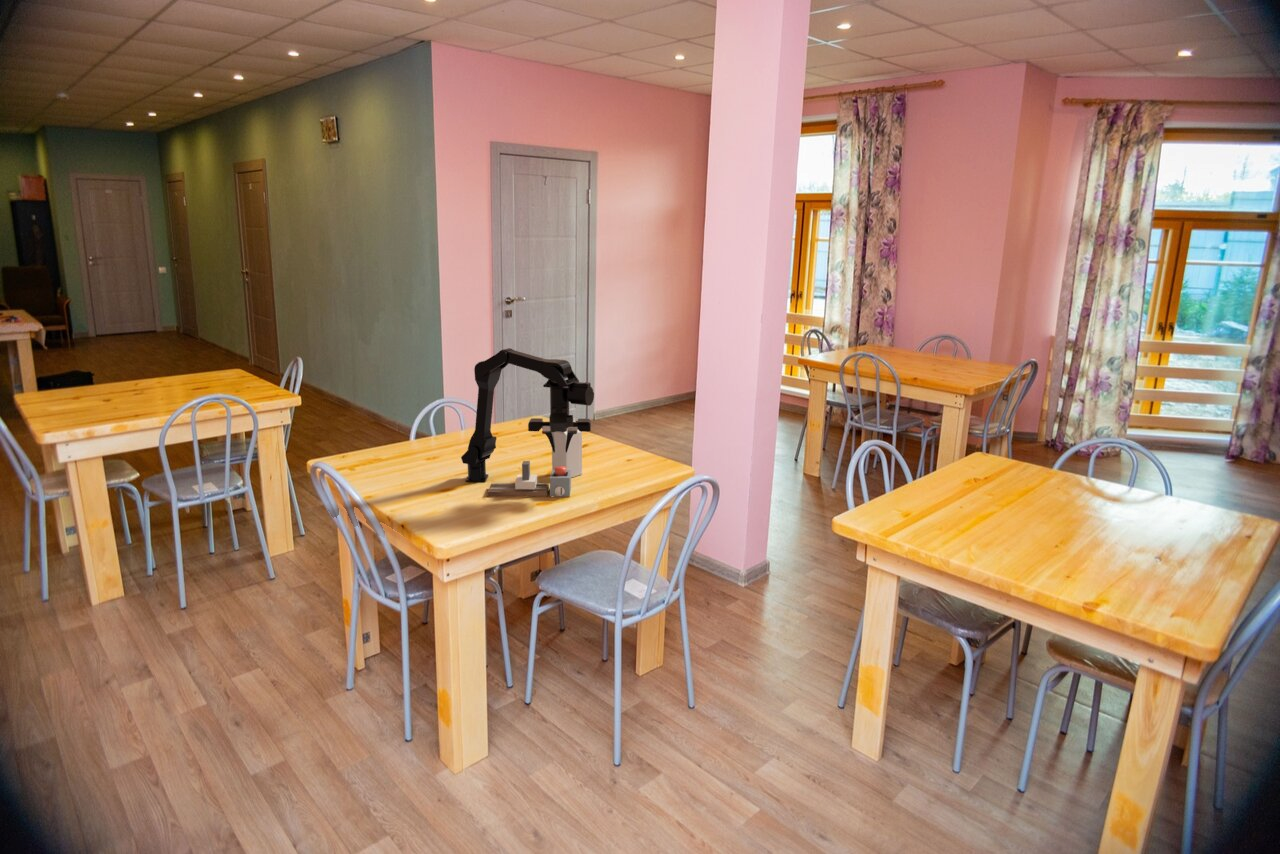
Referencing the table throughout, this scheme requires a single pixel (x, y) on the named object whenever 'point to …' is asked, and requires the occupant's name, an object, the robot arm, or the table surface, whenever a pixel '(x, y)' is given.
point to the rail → (516, 490)
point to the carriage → (526, 478)
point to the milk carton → (568, 452)
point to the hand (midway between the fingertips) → (560, 452)
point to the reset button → (560, 470)
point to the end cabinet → (560, 484)
